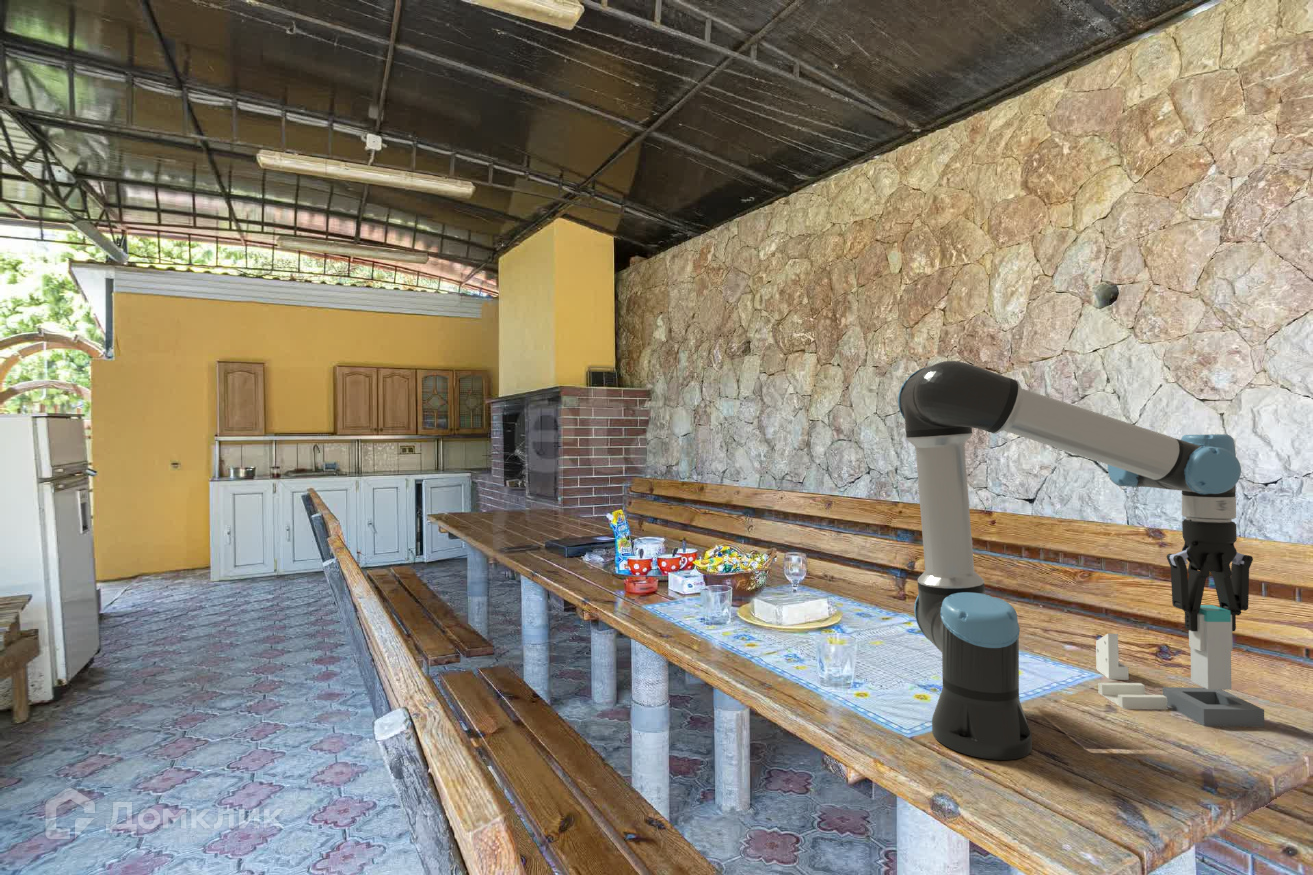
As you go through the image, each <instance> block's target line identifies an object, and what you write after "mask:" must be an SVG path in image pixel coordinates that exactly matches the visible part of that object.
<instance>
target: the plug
mask: <svg viewBox="0 0 1313 875" xmlns="http://www.w3.org/2000/svg"><path fill="white" fill-rule="evenodd" d="M1199 613H1200V614H1203V615H1204V630H1205V651H1199V650H1196V649H1194V648H1192V647H1190V682H1192V683H1194V684H1196V685H1198V686H1200V687H1201V688H1206V689H1218V690H1224V691H1225V690H1226V691H1227V690H1230V691H1231V690H1232V651H1231V614H1230V610H1227V609H1224V608H1220V606H1217V605H1213V604H1201V607H1200V611H1199Z"/></svg>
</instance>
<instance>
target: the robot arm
mask: <svg viewBox="0 0 1313 875" xmlns="http://www.w3.org/2000/svg"><path fill="white" fill-rule="evenodd" d="M897 404H898V410H899V412H900V414H901V416H902V418H903V420H904V423H905V424H904V425H905V427H904V428H905V437H906V441H908V442H909V443H910V444H912V445H913V447H914V448H915V457H916V470H917V471H916V472H917V484H918V496H919V507H920V508H919V509H920V511H919V512H920V521H921V534H922V547H923V549H922V550H923V559H924V571H923V573H922V574H921V575H919V577H918V578H917V592H918V595H917V597H916V598H915V602H914V605H913V606H914V607H913V611H914V612H913V613H914V618H915V620H916V621H915V622H916V624H917V626H918V628H919V630H920V632H921V633H922V634H923V636H924V637H925V638H926V639H927V640H928V641H930V642H931V643H932V644H933V645H934V646H935V648H937V649H938V650H939V651H940V652H941V657H942V658H941V659H942V660H941V662H942V664H941V666H942V668H941V670H942V688H941V692H940V695H939V698H938V700H937V703H936V707H935V709H934V712H933V715H932V717H931V718H932V719H931V733H932V735H933V737H934V739H936V740H937V741H938V742H939V743H940V744H942V745H943V746H945V747H947V748H949V749H951V750H953V751H955V752H957V753H961V754H964V755H967V756H971V757H974V758H975V757H976V758H980V759H985V760H995V761H1009V760H1010V761H1011V760H1016V759H1017V760H1018V759H1021V758H1024V757H1025V758H1026V756H1028V755H1030V754H1031V752H1032V750H1033V743H1032V742H1033V737H1032V731H1031V729H1030V726H1029V723H1028V721H1027V720H1028V719H1027V718H1026V717H1027V716H1026V715H1025V712H1024V709H1023V707H1022V703H1021V701H1020V644H1019V643H1020V642H1019V641H1020V640H1019V639H1020V629H1021V628H1020V624H1019V620H1018V618H1019V617H1018V614H1017V611H1016V609H1015V607H1013V605H1012V604H1010V603H1009V602H1008V601H1006V600H1003V599H1001V598H999V597H996V596H995V597H994V596H992V595H989V594H986V589H985V579H984V578H983V577H982V576H980V575H979V574H978V573H977V572H976V571H975V562H974V551H973V550H974V549H973V536H972V526H971V525H972V524H971V513H970V512H971V511H970V500H969V488H968V476H967V474H968V473H967V472H968V471H967V462H966V451H965V450H966V448H965V447H966V446H965V445H966V442H968V440H969V439H970V438H971V437H972V436H973V429H977V430H981V431H985V432H988V433H990V434H994V435H995V434H999V433H1001V432H1007V433H1010V434H1014V435H1016V436H1019V437H1022V438H1025V439H1028V440H1032V441H1034V442H1038V443H1040V444H1043V445H1046V446H1050V447H1052V448H1056V449H1058V450H1062V451H1065V452H1068V453H1072V454H1073V455H1074V454H1075V455H1077V456H1081V457H1083V458H1087V459H1090V460H1093V461H1095V462H1100V463H1102V464H1105V465H1107V472H1108V476H1109V479H1110V480H1111V481H1112V482H1113V484H1115V485H1116V486H1119V487H1126V488H1127V487H1129V488H1134V489H1135V488H1139V487H1140V488H1142V487H1143V488H1153V489H1154V488H1155V489H1162V490H1173V491H1181V515H1182V517H1185V518H1184V519H1183V520H1182V521H1181V522H1182V523H1181V524H1182V525H1181V527H1182V528H1181V529H1182V531H1181V532H1182V534H1181V535H1182V539H1183V540H1184V541H1183V542H1184V545H1183V547H1181V548H1182V550H1181V551H1179V552H1177V553H1168V554H1166V560H1167V562H1168V564H1169V567H1170V583H1171V584H1170V585H1171V600H1172V602H1171V603H1172V606H1173V607H1174V608H1175V609H1179V610H1182V611H1183V612H1184V628H1185V629H1186V630H1188V647H1189V648H1191V647H1192V648H1194V649H1196V650H1199V651H1205V630H1204V615H1203V614H1200V613H1199V611H1200V607H1201V605H1202V601H1203V596H1204V592H1205V586H1206V582H1207V578H1209V577H1210V574H1211V575H1212V578H1213V581H1214V587H1215V592H1216V595H1217V600H1218V604H1219V607H1220V608H1224V609H1227V610H1230V614H1231V652H1233V632H1236V630H1237V624H1236V622H1237V617H1236V616H1240V615H1242V611H1247V610H1249V602H1250V601H1249V598H1250V597H1249V596H1250V592H1249V591H1250V589H1249V588H1250V568H1251V566H1252V563H1253V561H1254V558H1253V556H1252V555H1247V554H1243V553H1240V552H1238V550H1237V548H1236V547H1235V543H1236V542H1237V539H1238V538H1237V537H1238V536H1237V524H1236V523H1235V521H1232V520H1235V519H1236V518H1237V496H1236V495H1237V494H1236V492H1237V491H1236V490H1237V487H1236V486H1237V484H1238V482H1239V481H1240V478H1241V475H1242V467H1241V463H1240V461H1239V459H1238V457H1236V456H1237V454H1236V453H1237V452H1236V446H1235V439H1234V438H1233V437H1232V436H1231V435H1229V434H1215V433H1214V434H1207V433H1206V434H1184V435H1182V437H1181V439H1178V438H1175V437H1173V436H1170V435H1167V434H1163V433H1161V432H1157V431H1155V430H1151V429H1148V428H1145V427H1141V426H1138V425H1136V424H1132V423H1129V422H1127V421H1123V420H1121V419H1117V418H1114V417H1111V416H1108V415H1105V414H1101V413H1098V412H1095V411H1092V410H1089V409H1086V408H1084V407H1080V406H1077V405H1074V404H1071V403H1067V402H1064V401H1061V400H1059V399H1055V398H1053V397H1049V396H1046V395H1043V394H1040V393H1037V392H1035V391H1030V390H1027V389H1024V388H1022V386H1021V384H1020V382H1019V381H1018V380H1016V379H1014V378H1011V377H1007V376H1005V375H1001V374H999V373H996V372H994V371H991V370H989V369H985V368H982V367H979V366H977V365H973V364H971V363H968V362H967V363H966V362H962V361H959V360H946V361H940V362H937V363H935V364H932V365H929V366H926V367H923V368H922V367H921V368H920V369H918V370H916V371H915V372H913V373H911V375H909V376H908V377H907V378H906V379H905V380H904V382H903V384H902V385H901V387H900V389H899V392H898V395H897ZM1187 564H1188V567H1187ZM1230 565H1231V566H1230Z"/></svg>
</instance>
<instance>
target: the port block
mask: <svg viewBox="0 0 1313 875" xmlns="http://www.w3.org/2000/svg"><path fill="white" fill-rule="evenodd" d="M1162 695H1164V696H1165V697H1167V707H1169V708H1172V709H1173V710H1175V711H1176V712H1178V713H1180V714H1182V715H1184V716H1186V717H1187V718H1189V719H1190V720H1193V721H1194V722H1196V723H1198V724H1200V725H1202V726H1203V727H1250V728H1251V727H1254V728H1256V727H1259V728H1261V727H1262V728H1264V727H1265V709H1264V708H1261V707H1259V706H1257V705H1256V704H1254V703H1252V702H1249V701H1247V700H1245V699H1242V698H1240V697H1239V696H1236V695H1234V694H1232V693H1229V692H1227V690H1226V691H1225V690H1218V689H1206V688H1204V687H1187V686H1186V687H1179V686H1176V687H1175V686H1174V687H1173V686H1172V687H1170V686H1169V687H1168V686H1167V687H1162Z"/></svg>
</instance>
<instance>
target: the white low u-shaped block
mask: <svg viewBox="0 0 1313 875" xmlns="http://www.w3.org/2000/svg"><path fill="white" fill-rule="evenodd" d="M1097 686H1098V688H1097V689H1098V692H1097V691H1096V692H1097V693H1098V694H1099V695H1100V696H1103V697H1104V698H1105V699H1107V700H1109V701H1111V702H1112V703H1113V704H1114V705H1117V706H1118V707H1120V708H1122V709H1123V710H1169V708H1168V706H1167V697H1165V696H1164V695H1163V694H1146V689H1145V688H1146V686H1145V684H1143V683H1142V682H1098V685H1097Z"/></svg>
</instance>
